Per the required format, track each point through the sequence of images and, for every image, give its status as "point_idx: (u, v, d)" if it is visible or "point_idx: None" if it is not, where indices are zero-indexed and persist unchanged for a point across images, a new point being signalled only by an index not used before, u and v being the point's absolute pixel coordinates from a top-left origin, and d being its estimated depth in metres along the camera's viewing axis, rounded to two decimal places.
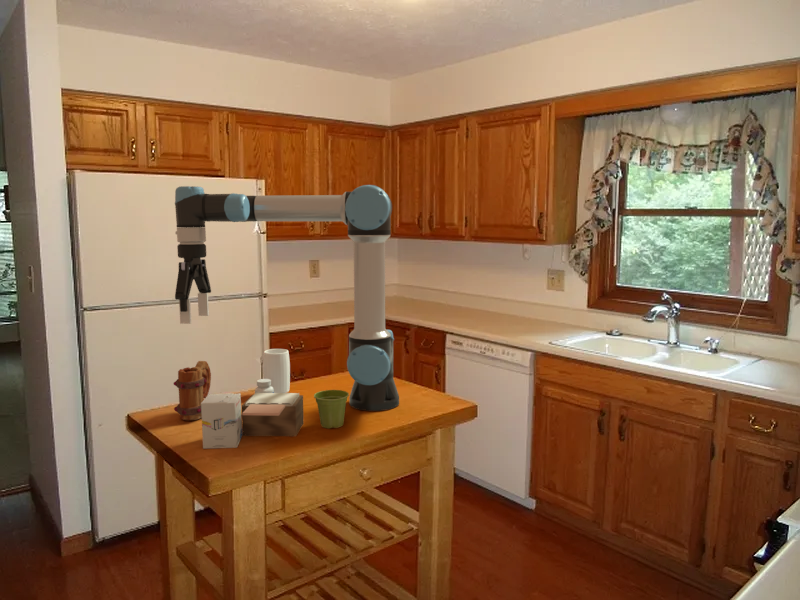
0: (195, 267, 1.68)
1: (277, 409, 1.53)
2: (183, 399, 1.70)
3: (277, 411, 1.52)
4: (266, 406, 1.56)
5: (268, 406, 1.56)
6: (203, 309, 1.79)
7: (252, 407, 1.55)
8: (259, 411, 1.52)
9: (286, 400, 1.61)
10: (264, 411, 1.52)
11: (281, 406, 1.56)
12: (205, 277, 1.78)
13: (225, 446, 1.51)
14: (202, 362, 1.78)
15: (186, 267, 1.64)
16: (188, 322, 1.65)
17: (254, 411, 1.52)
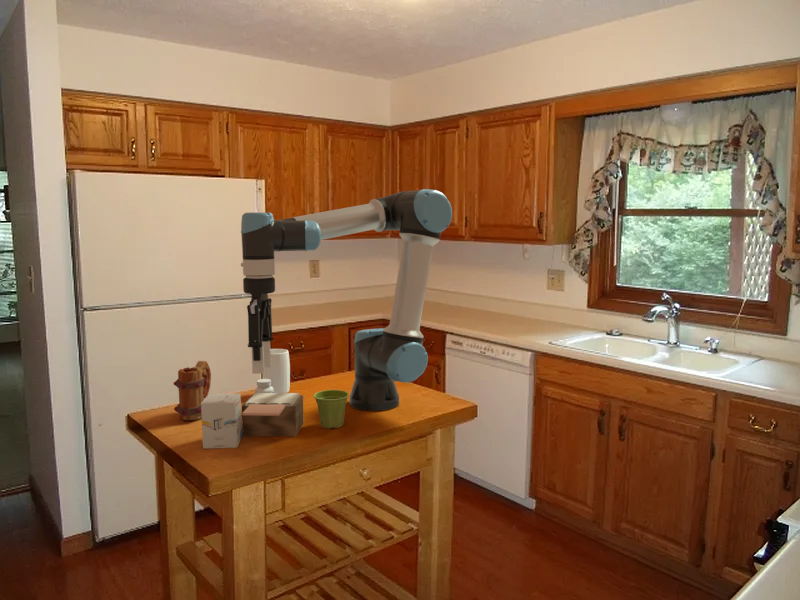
0: (264, 305, 1.48)
1: (277, 409, 1.53)
2: (183, 399, 1.70)
3: (277, 411, 1.52)
4: (266, 406, 1.56)
5: (268, 406, 1.56)
6: (265, 360, 1.55)
7: (252, 407, 1.55)
8: (259, 411, 1.52)
9: (286, 400, 1.61)
10: (264, 411, 1.52)
11: (281, 406, 1.56)
12: (269, 319, 1.56)
13: (225, 446, 1.51)
14: (202, 362, 1.78)
15: (256, 311, 1.44)
16: (261, 372, 1.48)
17: (254, 411, 1.52)
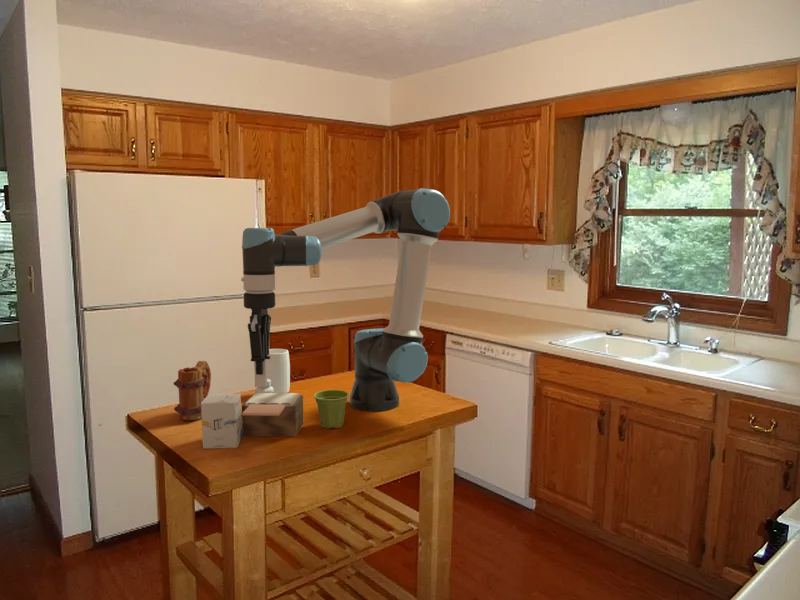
0: (264, 321, 1.49)
1: (277, 409, 1.53)
2: (183, 399, 1.70)
3: (277, 411, 1.52)
4: (266, 406, 1.56)
5: (268, 406, 1.56)
6: None
7: (252, 407, 1.55)
8: (259, 411, 1.52)
9: (286, 400, 1.61)
10: (264, 411, 1.52)
11: (281, 406, 1.56)
12: (267, 336, 1.54)
13: (225, 446, 1.51)
14: (202, 362, 1.78)
15: (257, 330, 1.45)
16: (263, 385, 1.52)
17: (254, 411, 1.52)
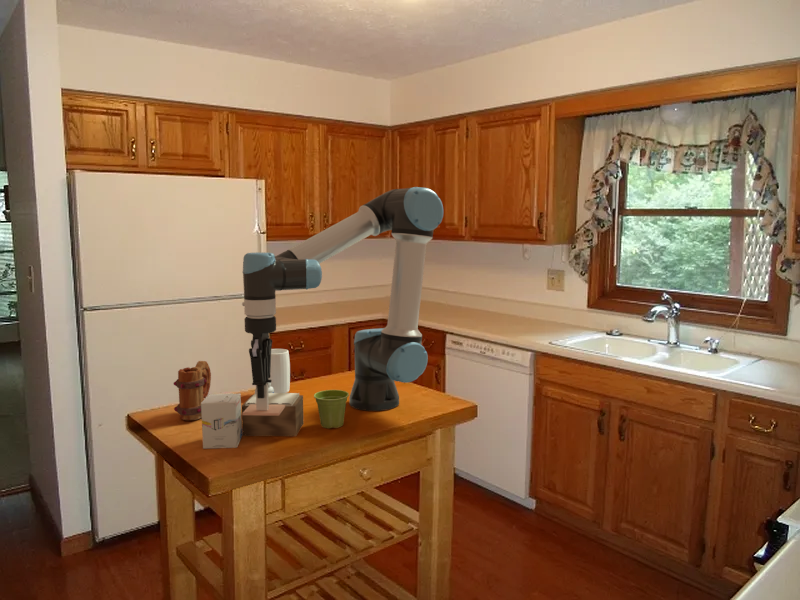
0: (265, 345, 1.49)
1: (277, 409, 1.53)
2: (183, 399, 1.70)
3: (277, 411, 1.52)
4: None
5: None
6: None
7: (252, 407, 1.55)
8: (259, 411, 1.52)
9: (286, 400, 1.61)
10: (264, 411, 1.52)
11: (281, 406, 1.56)
12: (268, 360, 1.55)
13: (225, 446, 1.51)
14: (202, 362, 1.78)
15: (258, 355, 1.46)
16: (265, 409, 1.53)
17: (254, 411, 1.52)
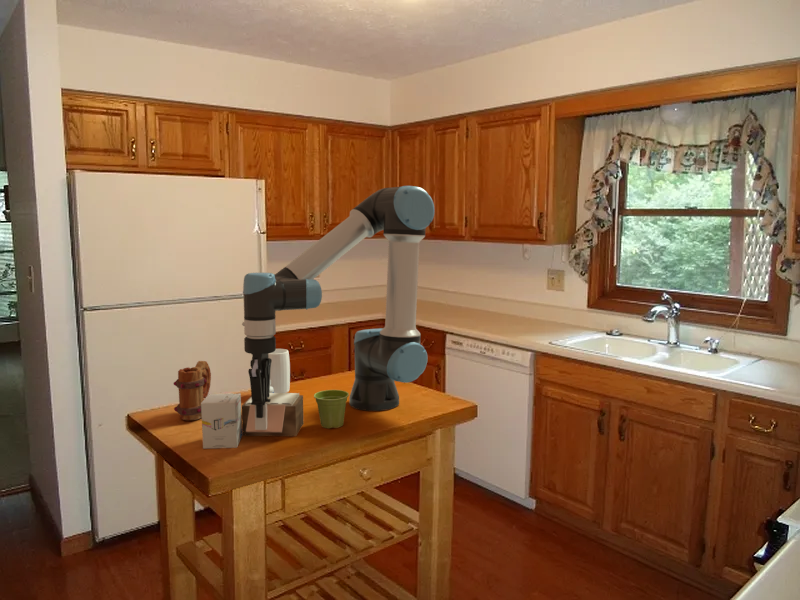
0: (264, 365, 1.50)
1: (279, 421, 1.55)
2: (183, 399, 1.70)
3: (279, 427, 1.54)
4: None
5: (268, 411, 1.57)
6: None
7: (253, 414, 1.56)
8: None
9: (286, 400, 1.61)
10: None
11: (281, 410, 1.57)
12: (267, 379, 1.56)
13: (225, 446, 1.51)
14: (202, 362, 1.78)
15: (258, 375, 1.46)
16: (264, 428, 1.53)
17: None
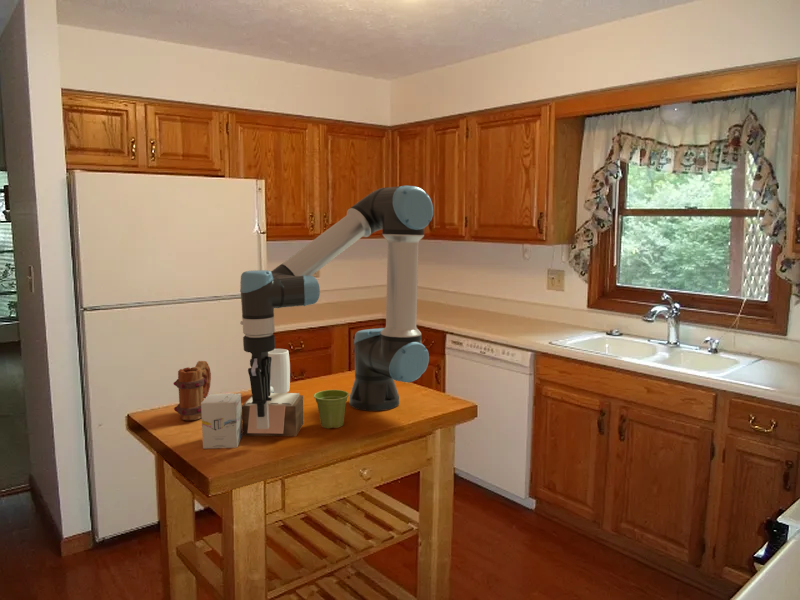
0: (264, 364, 1.48)
1: (279, 422, 1.56)
2: (183, 399, 1.70)
3: (281, 428, 1.55)
4: None
5: (269, 411, 1.57)
6: None
7: (254, 415, 1.57)
8: None
9: (286, 400, 1.61)
10: None
11: (282, 411, 1.57)
12: (267, 377, 1.54)
13: (225, 446, 1.51)
14: (202, 362, 1.78)
15: (257, 374, 1.45)
16: (265, 427, 1.52)
17: None
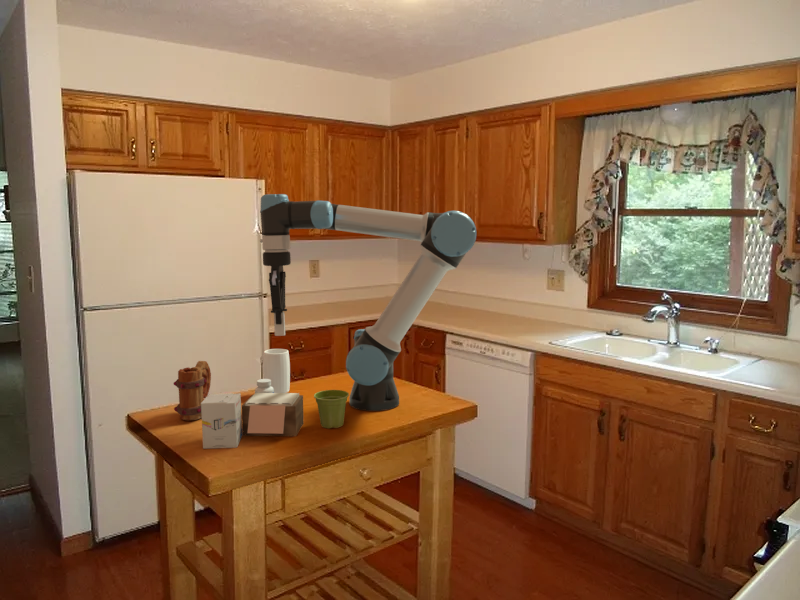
0: (282, 276, 1.69)
1: (279, 422, 1.56)
2: (183, 399, 1.70)
3: (281, 428, 1.55)
4: (267, 412, 1.57)
5: (269, 411, 1.57)
6: None
7: (254, 415, 1.57)
8: (263, 428, 1.56)
9: (286, 400, 1.61)
10: (267, 426, 1.56)
11: (282, 411, 1.57)
12: None
13: (225, 446, 1.51)
14: (202, 362, 1.78)
15: (277, 283, 1.65)
16: (282, 334, 1.72)
17: (258, 428, 1.56)
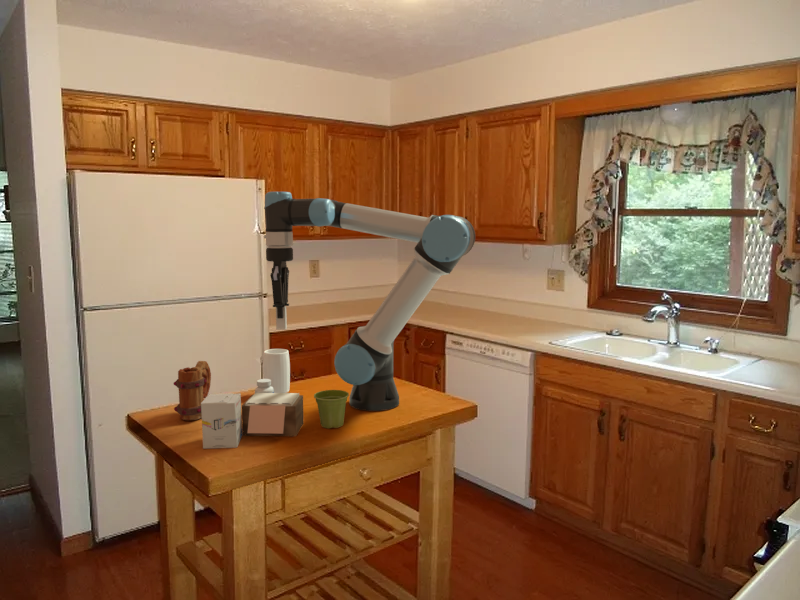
0: (284, 272, 1.73)
1: (279, 422, 1.56)
2: (183, 399, 1.70)
3: (281, 428, 1.55)
4: (267, 412, 1.57)
5: (269, 411, 1.57)
6: None
7: (254, 415, 1.57)
8: (263, 428, 1.56)
9: (286, 400, 1.61)
10: (267, 426, 1.56)
11: (282, 411, 1.57)
12: (286, 287, 1.79)
13: (225, 446, 1.51)
14: (202, 362, 1.78)
15: (278, 278, 1.70)
16: (284, 328, 1.77)
17: (258, 428, 1.56)
